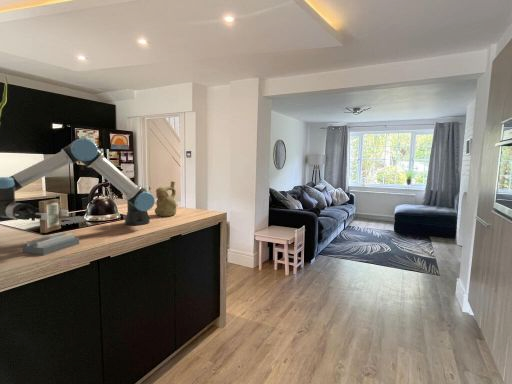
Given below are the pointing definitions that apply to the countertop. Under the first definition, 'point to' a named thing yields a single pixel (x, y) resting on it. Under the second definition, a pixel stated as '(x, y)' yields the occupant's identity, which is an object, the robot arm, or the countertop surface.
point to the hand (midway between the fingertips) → (58, 215)
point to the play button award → (72, 220)
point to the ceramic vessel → (166, 201)
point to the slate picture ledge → (50, 244)
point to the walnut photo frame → (50, 215)
